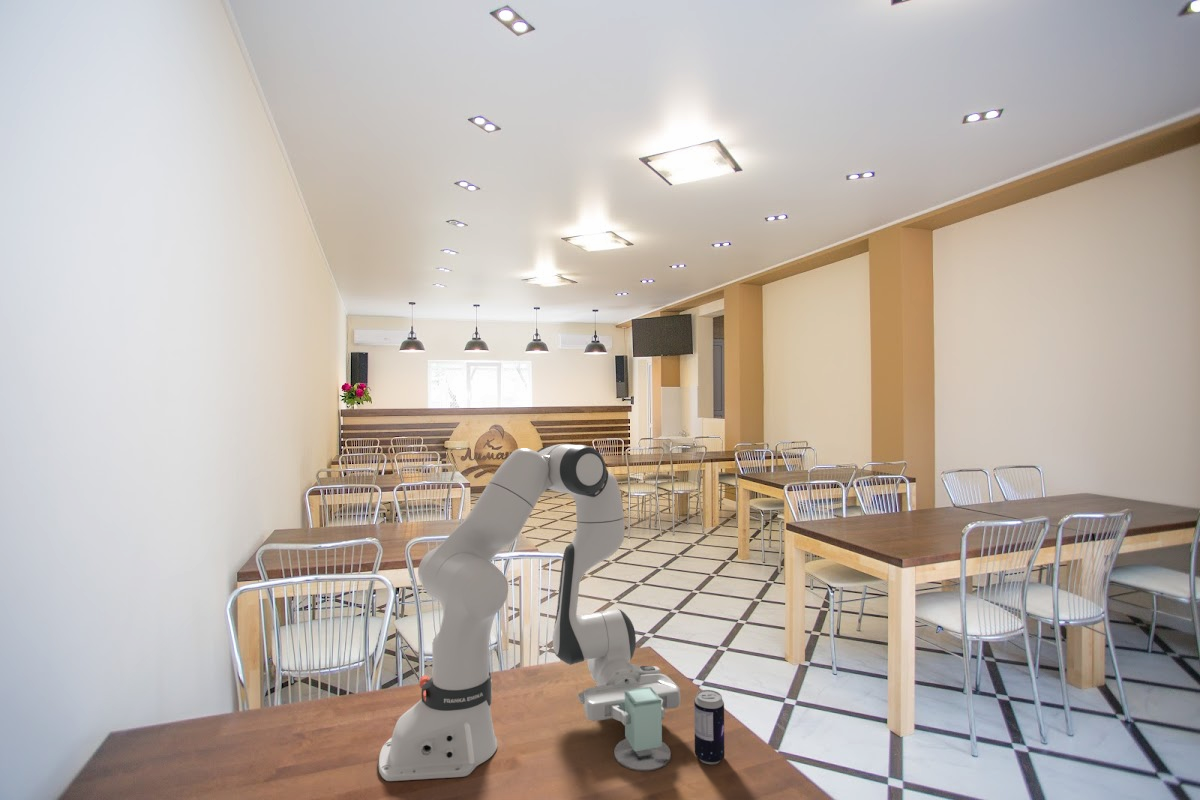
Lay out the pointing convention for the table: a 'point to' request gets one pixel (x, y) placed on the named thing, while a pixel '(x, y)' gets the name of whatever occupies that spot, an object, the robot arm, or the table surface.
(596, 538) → the robot arm
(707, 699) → the beverage can
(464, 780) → the table surface
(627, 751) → the post
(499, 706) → the table surface
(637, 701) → the mint green lidded box
